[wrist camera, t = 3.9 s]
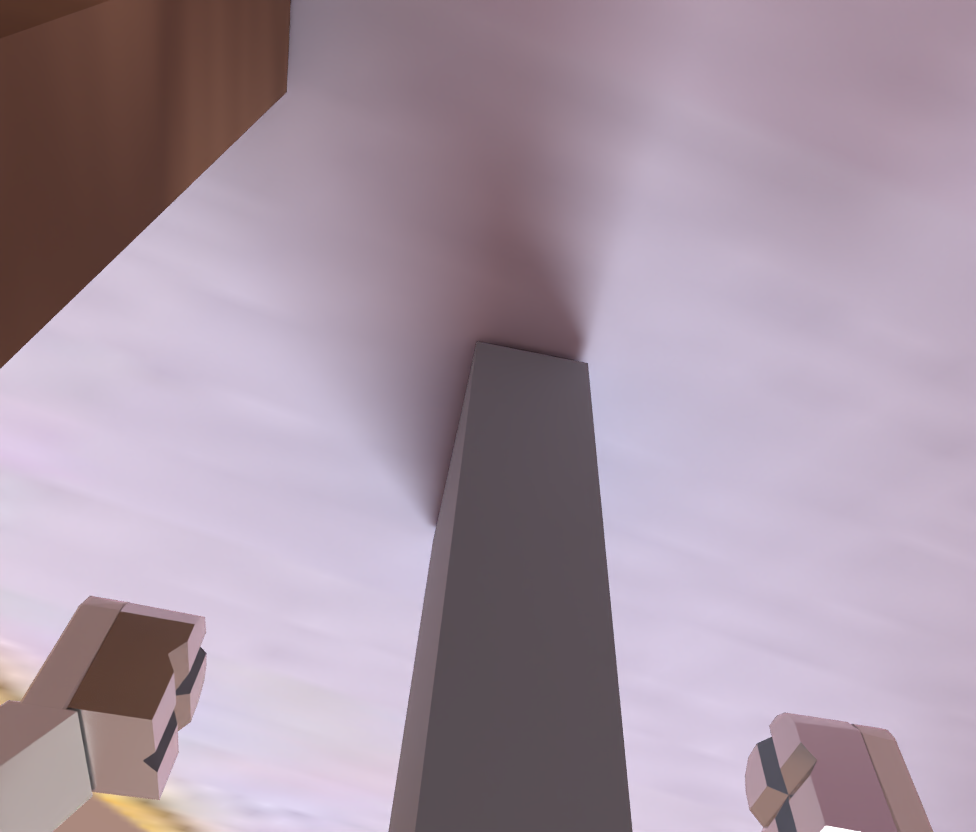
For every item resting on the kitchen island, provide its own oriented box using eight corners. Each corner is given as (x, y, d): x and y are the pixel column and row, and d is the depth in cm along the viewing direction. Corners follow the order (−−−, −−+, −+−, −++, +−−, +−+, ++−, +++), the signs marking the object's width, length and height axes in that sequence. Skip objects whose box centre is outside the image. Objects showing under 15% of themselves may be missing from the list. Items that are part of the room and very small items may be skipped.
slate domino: (587, 363, 14) (655, 1072, 6) (525, 557, 17) (512, 1214, 9) (477, 341, 14) (388, 1036, 6) (433, 541, 17) (332, 1192, 9)
